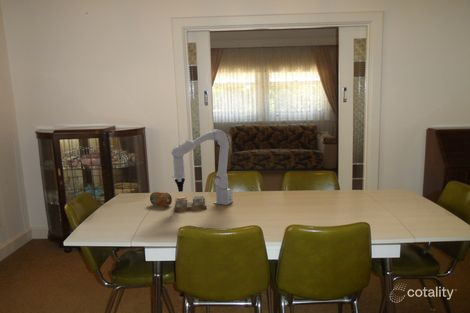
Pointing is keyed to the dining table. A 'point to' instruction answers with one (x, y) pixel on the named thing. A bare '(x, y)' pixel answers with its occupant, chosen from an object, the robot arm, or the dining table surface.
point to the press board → (190, 204)
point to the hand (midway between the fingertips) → (180, 191)
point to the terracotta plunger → (181, 198)
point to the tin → (160, 199)
